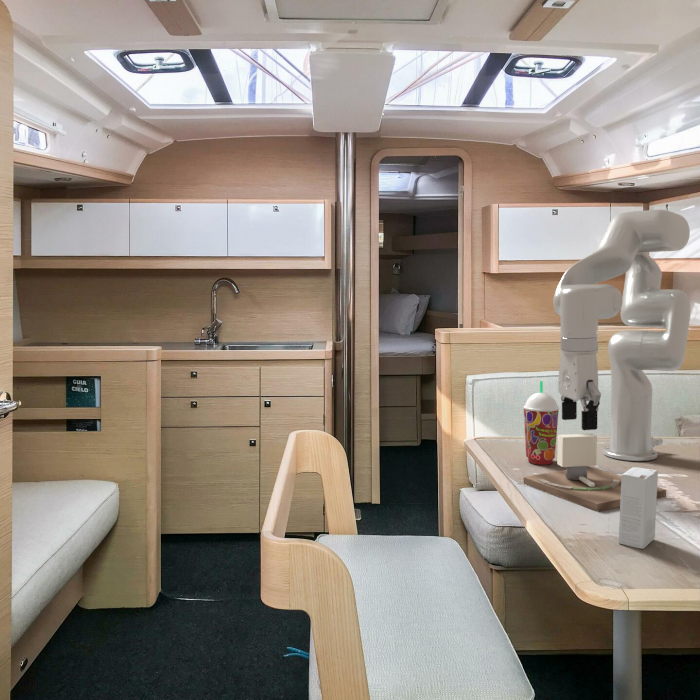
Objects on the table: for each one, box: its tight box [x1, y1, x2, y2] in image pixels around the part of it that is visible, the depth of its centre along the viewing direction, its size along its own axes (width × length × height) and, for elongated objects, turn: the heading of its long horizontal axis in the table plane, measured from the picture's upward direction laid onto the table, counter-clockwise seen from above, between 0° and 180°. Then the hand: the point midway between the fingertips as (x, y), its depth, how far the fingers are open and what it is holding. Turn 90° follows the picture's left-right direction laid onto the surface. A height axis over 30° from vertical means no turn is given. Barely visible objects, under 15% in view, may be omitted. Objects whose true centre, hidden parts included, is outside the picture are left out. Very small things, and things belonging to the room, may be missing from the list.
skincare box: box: [618, 466, 659, 550], centre depth 113 cm, size 6×4×12 cm
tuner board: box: [522, 466, 667, 512], centre depth 143 cm, size 19×21×2 cm
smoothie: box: [523, 380, 560, 466], centre depth 165 cm, size 8×8×20 cm
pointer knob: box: [556, 433, 598, 487], centre depth 143 cm, size 10×8×9 cm
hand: (579, 424), depth 145 cm, fingers open, 9 cm apart
